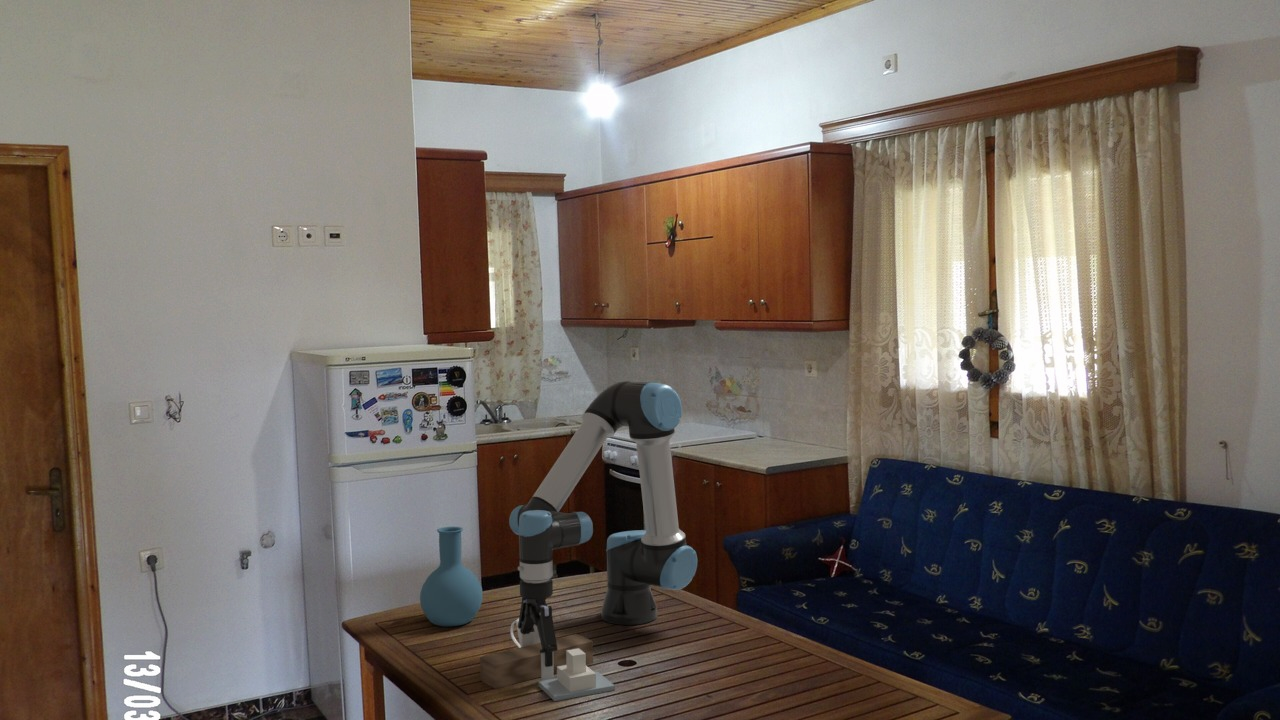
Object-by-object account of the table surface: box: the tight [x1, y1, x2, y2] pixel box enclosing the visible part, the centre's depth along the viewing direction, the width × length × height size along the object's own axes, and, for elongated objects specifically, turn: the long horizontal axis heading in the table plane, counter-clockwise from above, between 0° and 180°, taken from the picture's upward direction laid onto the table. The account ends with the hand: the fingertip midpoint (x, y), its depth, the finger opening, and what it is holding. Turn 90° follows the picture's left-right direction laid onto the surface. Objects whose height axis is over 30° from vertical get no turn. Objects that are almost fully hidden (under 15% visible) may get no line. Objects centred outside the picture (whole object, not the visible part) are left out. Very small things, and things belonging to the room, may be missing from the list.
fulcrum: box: [538, 648, 616, 702], centre depth 222 cm, size 14×10×8 cm
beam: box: [479, 633, 594, 689], centre depth 233 cm, size 26×7×6 cm, turn 127°
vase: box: [419, 526, 483, 628], centre depth 272 cm, size 16×16×25 cm
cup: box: [509, 617, 541, 648], centre depth 247 cm, size 7×10×8 cm
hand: (537, 670), depth 233 cm, fingers open, 13 cm apart
